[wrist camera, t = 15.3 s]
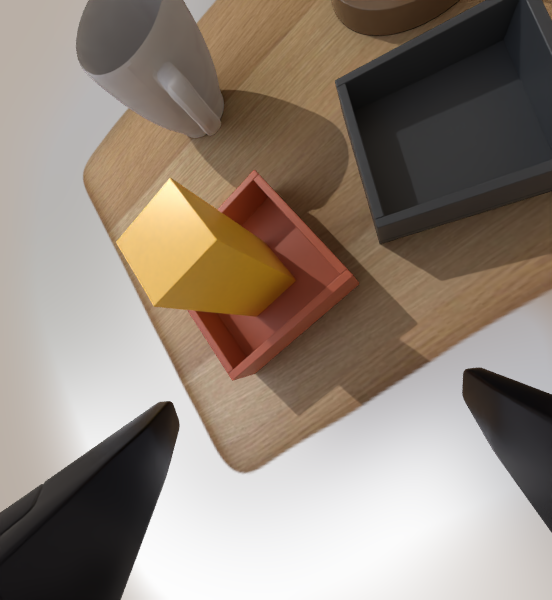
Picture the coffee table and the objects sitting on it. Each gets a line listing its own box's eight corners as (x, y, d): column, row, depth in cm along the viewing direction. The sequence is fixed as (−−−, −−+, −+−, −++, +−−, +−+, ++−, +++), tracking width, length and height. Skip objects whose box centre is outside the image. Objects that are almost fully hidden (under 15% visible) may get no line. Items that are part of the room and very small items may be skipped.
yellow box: (296, 280, 23) (217, 239, 12) (256, 317, 24) (153, 306, 13) (264, 241, 24) (170, 177, 14) (228, 277, 25) (115, 242, 15)
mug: (155, 122, 31) (60, 40, 22) (209, 54, 29) (129, -66, 20) (209, 192, 28) (121, 127, 19) (276, 120, 25) (212, 8, 17)
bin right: (572, 184, 17) (614, 149, 14) (379, 244, 21) (377, 228, 18) (507, 36, 19) (531, -25, 16) (343, 115, 23) (334, 79, 20)
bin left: (359, 283, 21) (353, 275, 18) (254, 374, 24) (232, 381, 21) (272, 190, 25) (254, 168, 22) (189, 277, 27) (161, 270, 24)
